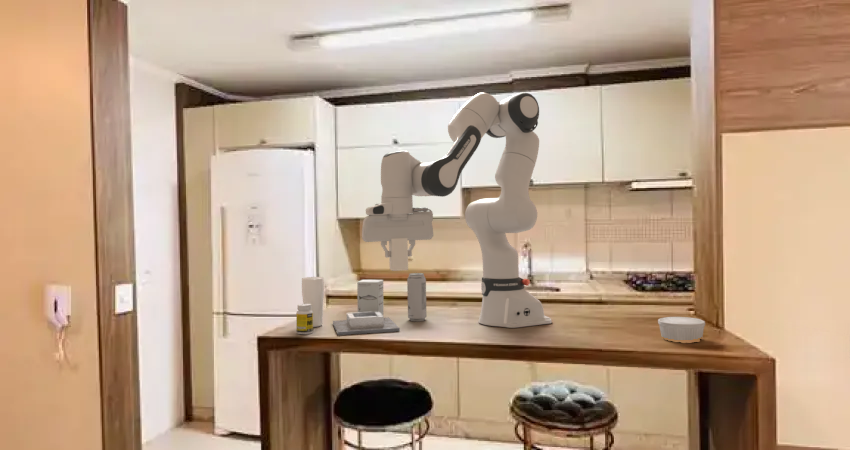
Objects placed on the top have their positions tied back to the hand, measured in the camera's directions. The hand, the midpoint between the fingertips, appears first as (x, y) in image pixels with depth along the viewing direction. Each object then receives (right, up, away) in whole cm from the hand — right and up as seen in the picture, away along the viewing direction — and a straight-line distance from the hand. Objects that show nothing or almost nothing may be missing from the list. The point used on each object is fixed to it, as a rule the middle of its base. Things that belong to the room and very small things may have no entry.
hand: (398, 256), depth 160 cm
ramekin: (+75, -22, -11) cm, 79 cm away
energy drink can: (+5, -22, +23) cm, 32 cm away
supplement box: (-10, -22, +28) cm, 37 cm away
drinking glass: (-27, -23, +16) cm, 39 cm away
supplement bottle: (-28, -23, +6) cm, 37 cm away
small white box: (0, -4, 0) cm, 4 cm away
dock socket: (-11, -22, +12) cm, 28 cm away
